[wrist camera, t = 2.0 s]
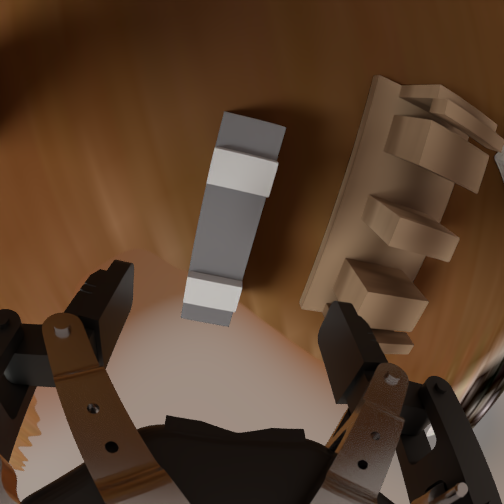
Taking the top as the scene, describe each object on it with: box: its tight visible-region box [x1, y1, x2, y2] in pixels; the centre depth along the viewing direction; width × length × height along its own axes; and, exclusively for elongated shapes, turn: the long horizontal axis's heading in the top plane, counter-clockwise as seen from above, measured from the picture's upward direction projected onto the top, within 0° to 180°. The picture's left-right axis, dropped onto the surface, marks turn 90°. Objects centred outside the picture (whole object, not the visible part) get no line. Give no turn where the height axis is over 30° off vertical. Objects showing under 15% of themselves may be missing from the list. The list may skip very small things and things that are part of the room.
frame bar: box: [181, 112, 286, 327], centre depth 20 cm, size 4×14×6 cm, turn 165°
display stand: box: [299, 75, 504, 354], centre depth 20 cm, size 10×20×7 cm, turn 166°
